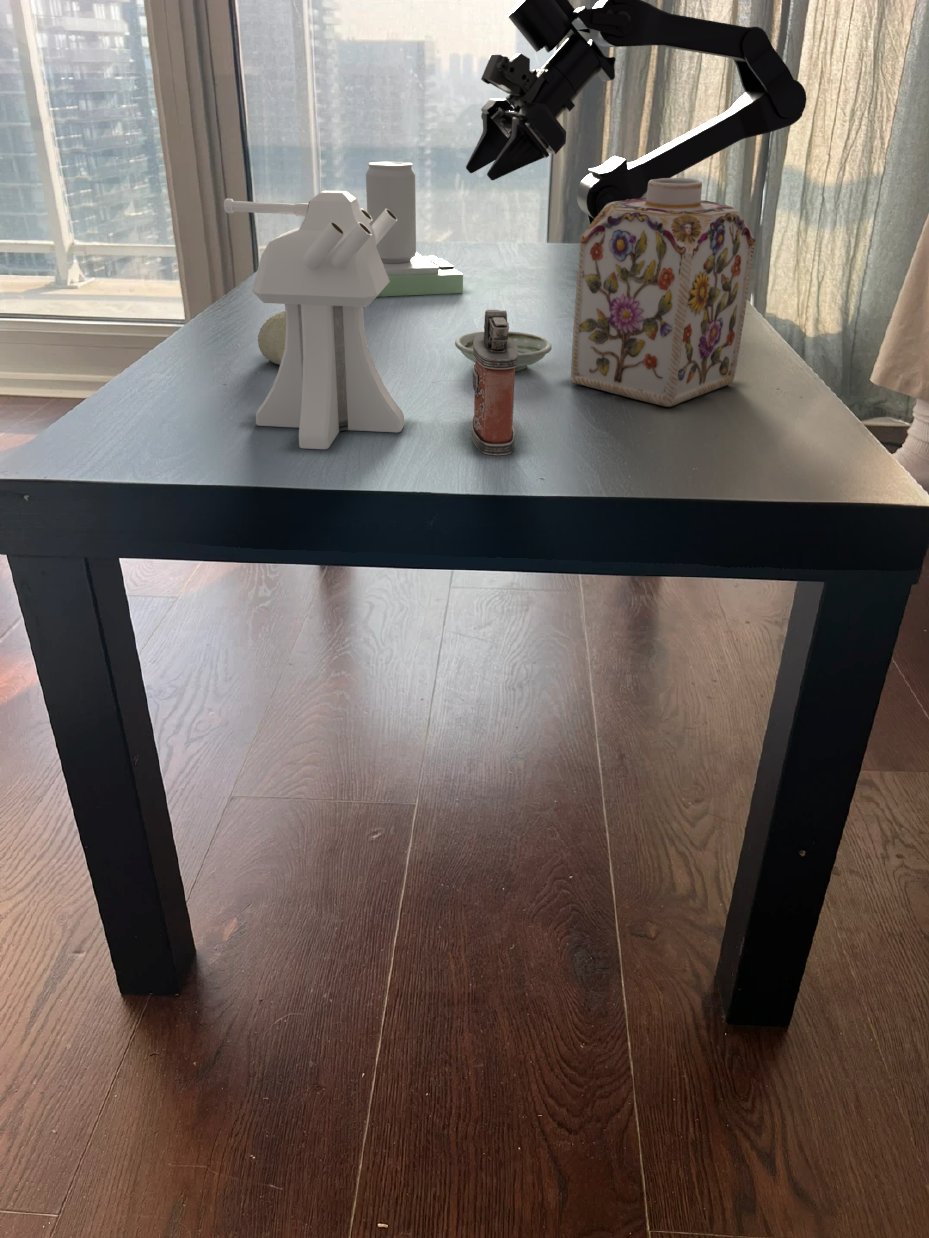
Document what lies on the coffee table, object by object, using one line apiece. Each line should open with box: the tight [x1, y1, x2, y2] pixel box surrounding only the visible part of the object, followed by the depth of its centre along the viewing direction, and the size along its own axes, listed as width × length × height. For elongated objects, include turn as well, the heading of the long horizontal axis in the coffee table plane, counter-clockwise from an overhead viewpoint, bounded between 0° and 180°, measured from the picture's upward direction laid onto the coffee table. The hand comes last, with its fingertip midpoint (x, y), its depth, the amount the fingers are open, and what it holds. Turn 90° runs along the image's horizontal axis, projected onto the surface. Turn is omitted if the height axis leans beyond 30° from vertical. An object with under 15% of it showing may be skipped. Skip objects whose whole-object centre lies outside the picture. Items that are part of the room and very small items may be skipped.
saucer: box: [454, 330, 553, 372], centre depth 98 cm, size 10×10×2 cm
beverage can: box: [365, 161, 417, 264], centre depth 129 cm, size 6×6×12 cm
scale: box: [376, 251, 464, 298], centre depth 132 cm, size 16×14×3 cm
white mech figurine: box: [223, 189, 405, 450], centre depth 77 cm, size 12×13×18 cm
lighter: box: [470, 309, 518, 456], centre depth 77 cm, size 8×3×10 cm, turn 5°
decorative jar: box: [570, 177, 756, 408], centre depth 89 cm, size 12×12×18 cm
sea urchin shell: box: [257, 310, 286, 366], centre depth 98 cm, size 9×8×8 cm
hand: (478, 174), depth 131 cm, fingers open, 9 cm apart
